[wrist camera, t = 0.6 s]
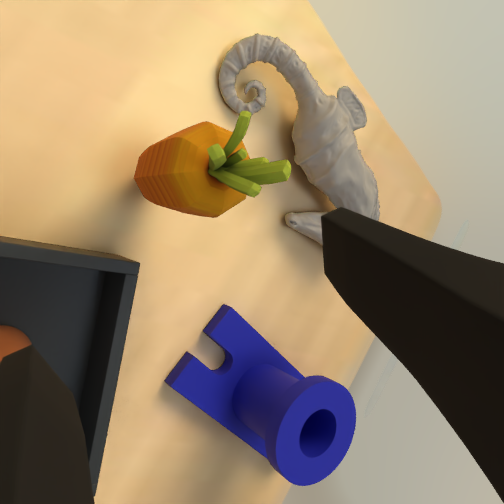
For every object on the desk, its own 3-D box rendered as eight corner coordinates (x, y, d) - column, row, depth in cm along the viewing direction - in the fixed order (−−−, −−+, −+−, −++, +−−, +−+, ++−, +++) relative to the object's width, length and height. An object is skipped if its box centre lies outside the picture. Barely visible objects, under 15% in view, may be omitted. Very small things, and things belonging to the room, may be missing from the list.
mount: (319, 395, 43) (391, 435, 36) (275, 463, 41) (343, 521, 34) (223, 303, 36) (289, 330, 29) (164, 380, 34) (219, 430, 27)
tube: (26, 389, 28) (45, 444, 22) (-49, 390, 26) (-51, 451, 20) (38, 327, 28) (61, 364, 22) (-36, 322, 26) (-34, 362, 20)
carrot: (93, 182, 30) (189, 170, 17) (136, 126, 31) (257, 78, 18) (149, 226, 32) (270, 244, 20) (188, 174, 33) (324, 159, 21)
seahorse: (174, 114, 31) (350, 283, 38) (286, -12, 30) (443, 184, 38) (169, 114, 36) (326, 264, 43) (266, 6, 35) (409, 176, 43)
